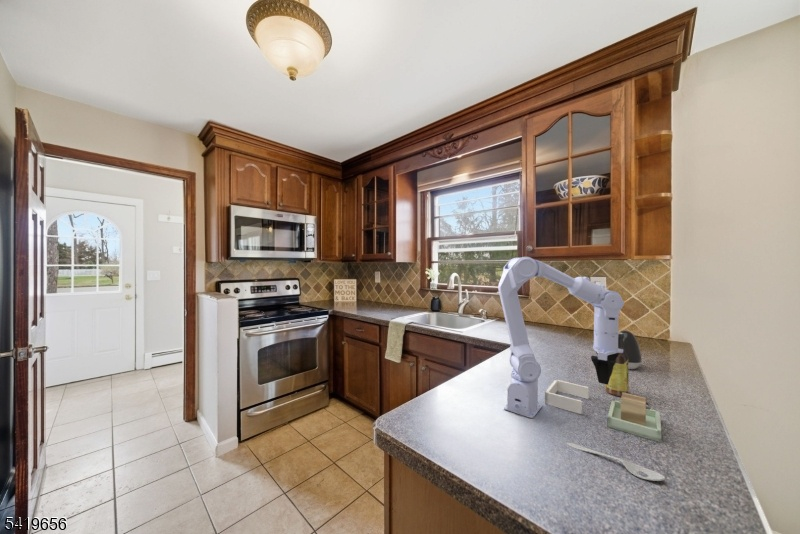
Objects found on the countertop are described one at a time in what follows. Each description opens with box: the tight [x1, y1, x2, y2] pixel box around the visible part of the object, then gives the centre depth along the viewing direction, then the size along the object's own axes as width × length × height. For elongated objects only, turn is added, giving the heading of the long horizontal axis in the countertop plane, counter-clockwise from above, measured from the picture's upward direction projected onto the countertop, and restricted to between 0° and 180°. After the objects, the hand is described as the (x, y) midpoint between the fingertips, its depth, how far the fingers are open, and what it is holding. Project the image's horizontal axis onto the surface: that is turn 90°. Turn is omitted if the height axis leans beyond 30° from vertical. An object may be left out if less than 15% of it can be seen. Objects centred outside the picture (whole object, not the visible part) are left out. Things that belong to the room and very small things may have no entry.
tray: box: [607, 399, 662, 443], centre depth 77 cm, size 13×10×2 cm
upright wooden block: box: [620, 392, 652, 426], centre depth 77 cm, size 4×6×6 cm
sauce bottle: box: [604, 331, 630, 397], centre depth 96 cm, size 7×6×20 cm
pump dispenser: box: [619, 330, 643, 370], centre depth 120 cm, size 10×10×15 cm
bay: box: [544, 379, 590, 415], centre depth 90 cm, size 13×10×4 cm
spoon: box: [566, 442, 666, 482], centre depth 64 cm, size 4×21×2 cm, turn 42°
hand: (605, 379), depth 83 cm, fingers open, 7 cm apart
